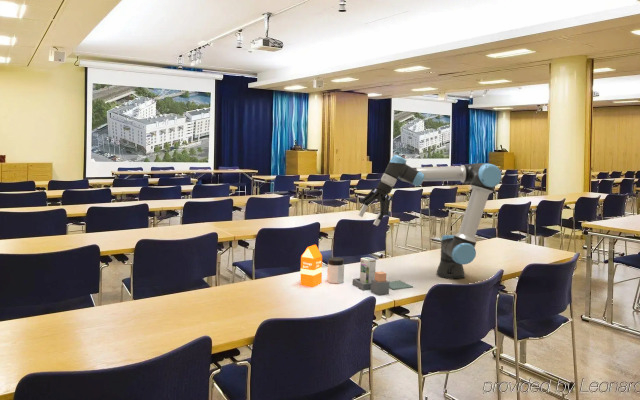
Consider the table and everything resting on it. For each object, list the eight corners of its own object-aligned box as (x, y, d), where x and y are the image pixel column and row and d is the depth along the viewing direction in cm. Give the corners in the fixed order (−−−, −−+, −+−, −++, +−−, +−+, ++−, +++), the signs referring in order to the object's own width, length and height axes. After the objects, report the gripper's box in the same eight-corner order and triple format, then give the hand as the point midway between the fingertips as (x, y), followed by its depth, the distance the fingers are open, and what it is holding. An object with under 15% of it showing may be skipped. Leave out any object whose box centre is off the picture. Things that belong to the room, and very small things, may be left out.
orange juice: (321, 283, 249) (322, 245, 247) (313, 287, 241) (314, 247, 239) (308, 281, 253) (309, 243, 251) (300, 285, 245) (300, 246, 243)
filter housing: (370, 282, 252) (371, 271, 252) (393, 293, 234) (393, 281, 233) (352, 284, 248) (352, 273, 247) (373, 295, 229) (373, 283, 229)
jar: (324, 282, 250) (325, 259, 249) (329, 278, 258) (329, 256, 257) (341, 284, 248) (342, 261, 247) (345, 280, 256) (346, 258, 254)
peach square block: (381, 279, 236) (381, 271, 236) (386, 281, 233) (386, 273, 232) (374, 280, 235) (374, 272, 234) (379, 282, 231) (379, 274, 231)
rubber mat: (399, 281, 256) (399, 280, 256) (413, 287, 245) (413, 286, 245) (380, 283, 251) (380, 282, 251) (393, 289, 240) (393, 288, 240)
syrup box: (359, 286, 246) (360, 257, 244) (367, 284, 249) (368, 256, 248) (366, 288, 241) (367, 260, 240) (375, 286, 245) (376, 258, 243)
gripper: (367, 174, 257) (349, 210, 258) (397, 188, 236) (377, 226, 238) (377, 179, 261) (359, 214, 262) (406, 193, 241) (387, 231, 242)
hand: (367, 220), depth 250 cm, fingers open, 13 cm apart
